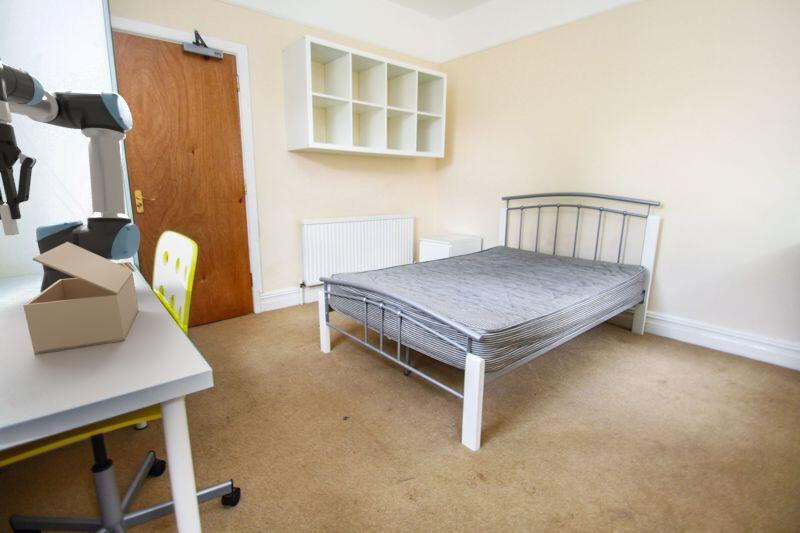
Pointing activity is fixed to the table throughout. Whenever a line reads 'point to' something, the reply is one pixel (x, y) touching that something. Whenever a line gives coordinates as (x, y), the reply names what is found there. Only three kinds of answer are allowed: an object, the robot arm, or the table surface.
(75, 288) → the carton
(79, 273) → the carton lid
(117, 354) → the table surface
